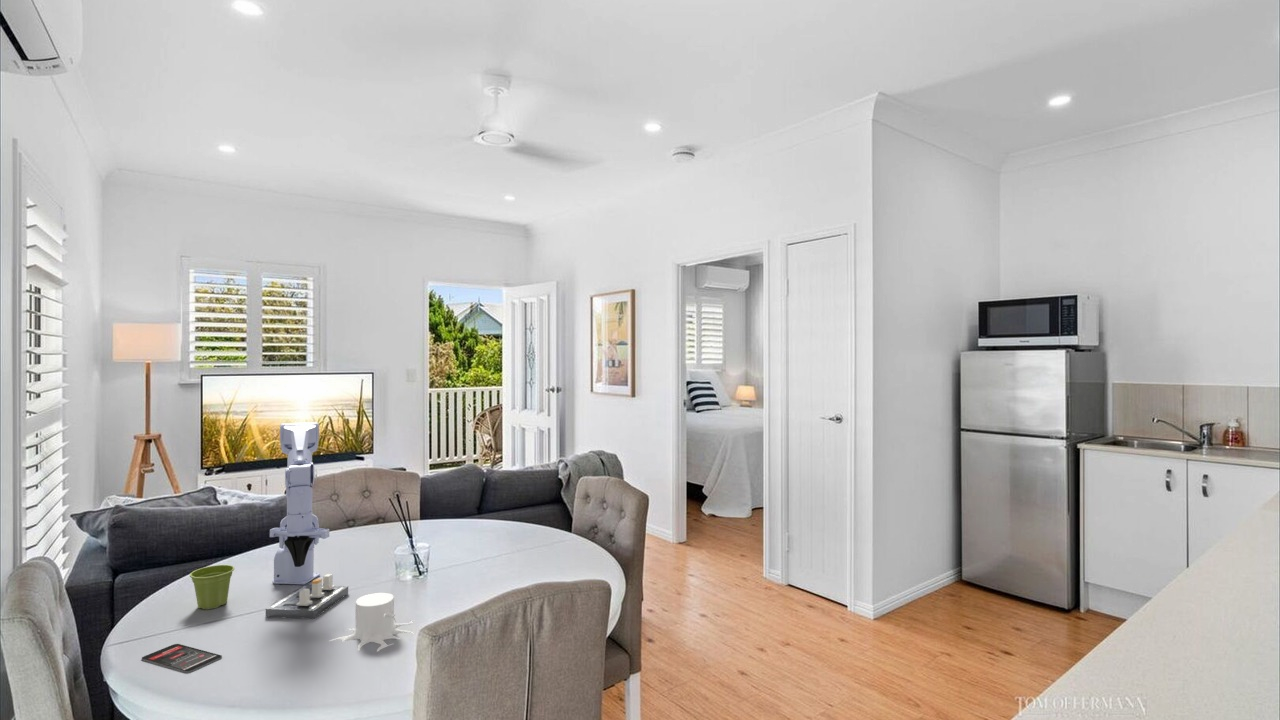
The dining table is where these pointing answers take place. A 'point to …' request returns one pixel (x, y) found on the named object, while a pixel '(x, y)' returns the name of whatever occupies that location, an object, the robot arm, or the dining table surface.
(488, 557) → the dining table surface
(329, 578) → the breaker far
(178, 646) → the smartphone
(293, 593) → the panel
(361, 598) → the tree stump
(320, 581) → the breaker mid
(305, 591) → the block
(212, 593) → the plant pot
